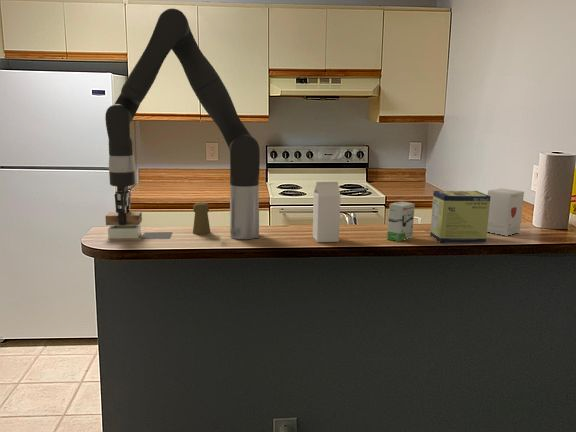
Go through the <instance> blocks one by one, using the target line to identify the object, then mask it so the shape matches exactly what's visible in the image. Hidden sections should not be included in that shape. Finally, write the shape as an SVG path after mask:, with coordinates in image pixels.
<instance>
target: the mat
mask: <svg viewBox="0 0 576 432" xmlns="http://www.w3.org/2000/svg"><path fill="white" fill-rule="evenodd" d="M172 235H173V231H160V232H159V231H153V232H152V231H151V232H150V231H149V232H147V231H146V232H145V231H144V233H143V235H142V236H141V238H140V240H170V239H171V238H172Z"/></svg>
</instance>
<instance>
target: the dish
mask: <svg viewBox="0 0 576 432" xmlns="http://www.w3.org/2000/svg"><path fill="white" fill-rule="evenodd" d="M141 227H142V226H141V223H140V224H139V225H109V227H108V228H107V235H108V236H107V237H108V238H107V239H139V237H140V236H141V234H142V229H141Z"/></svg>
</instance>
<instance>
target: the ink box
mask: <svg viewBox="0 0 576 432" xmlns="http://www.w3.org/2000/svg"><path fill="white" fill-rule="evenodd" d="M415 205H416V204H415V203H412V202H408V201H403V200H402V201H398V202H393V203H390V204H389V205H388V207H389V208H388V220H387V221H388V223H387V224H388V225H387V236H386V237H387V240H388V239H389V241H393V240H395V241H394V242H398V241H401V242H403V241H402V240H404V239H407V238H410V237H412V238H413V229H414V217H415ZM410 239H411V238H410ZM407 240H408V239H407ZM404 241H405V240H404Z"/></svg>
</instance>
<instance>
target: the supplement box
mask: <svg viewBox="0 0 576 432" xmlns="http://www.w3.org/2000/svg"><path fill="white" fill-rule="evenodd" d="M487 195H488V196H491V197H490V207H489V217H488V227H487V233H488V232H490V233H489V234H492V233H495V234H494V235H497V234H501V235H500V236H502V235H505V236H504V237H506V236H507V237H509V236H508V235H511V236H513V235H512V234H515V233H519V232H520V231H521V223H522V215H523V214H522V213H523V207H524V206H523V205H524V197H525V196H524V195H525V191H523V190H522V191H521V190H514V189H508V188H496V189H495V188H494V189H489V190H487ZM519 234H520V233H519ZM515 235H516V234H515Z"/></svg>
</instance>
